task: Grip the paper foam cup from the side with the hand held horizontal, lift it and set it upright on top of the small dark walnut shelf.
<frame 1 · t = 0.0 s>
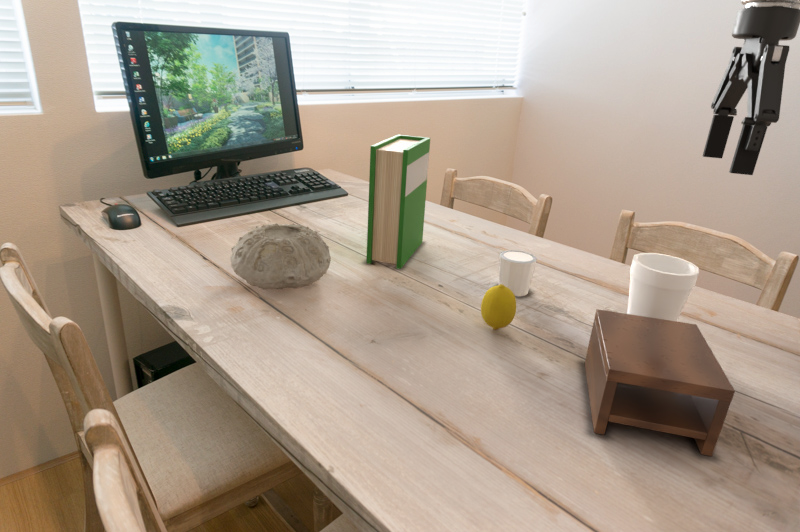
hand: (725, 165, 79), 28 cm above the table, tool pointing down, fingers open, 13 cm apart
lemon: (495, 330, 86), on the table
decorative shell: (282, 281, 99), on the table
shelf: (640, 404, 69), on the table
hardback book: (395, 253, 116), on the table
foam cup: (645, 338, 87), on the table
white jar candle: (513, 291, 101), on the table
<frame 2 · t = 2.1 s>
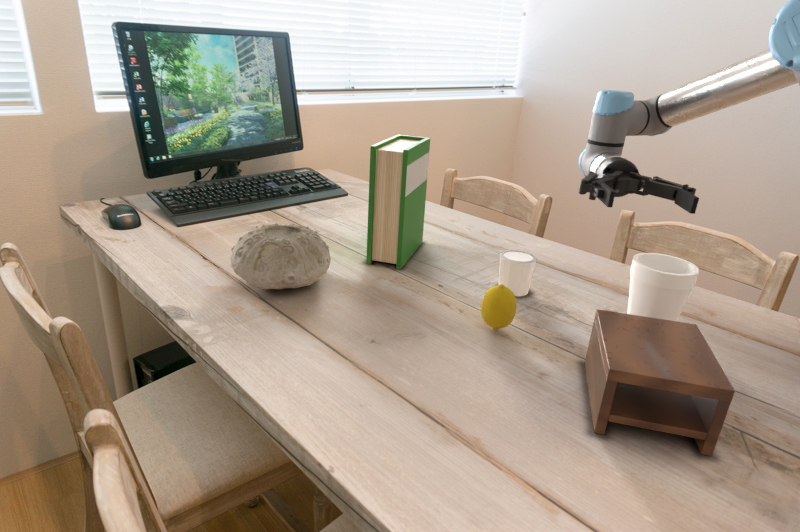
hand: (653, 202, 88), 20 cm above the table, tool horizontal, fingers open, 13 cm apart
nothing on the table moved.
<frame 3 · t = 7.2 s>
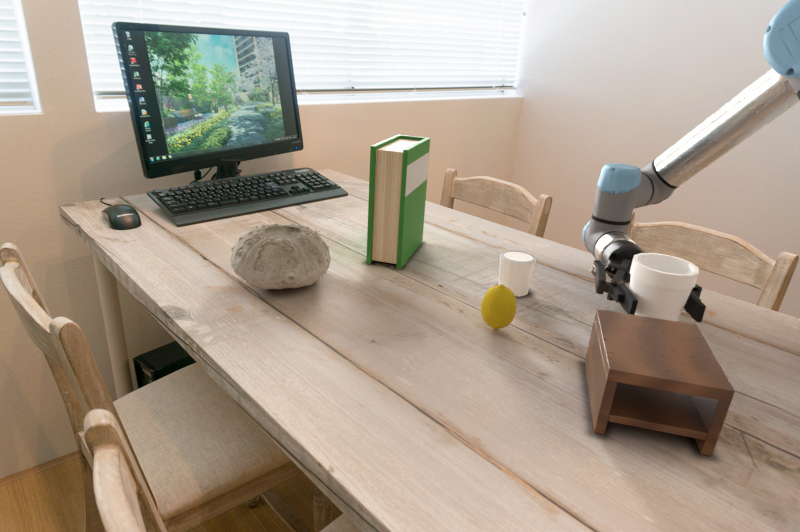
hand: (667, 311, 80), 7 cm above the table, tool horizontal, fingers closed on foam cup, 9 cm apart
foam cup: (645, 338, 87), on the table, touching gripper
everything else where it was.
when the fingers open (16 cm above the table, at t = 14.9 s): foam cup stays where it is, resting on shelf.
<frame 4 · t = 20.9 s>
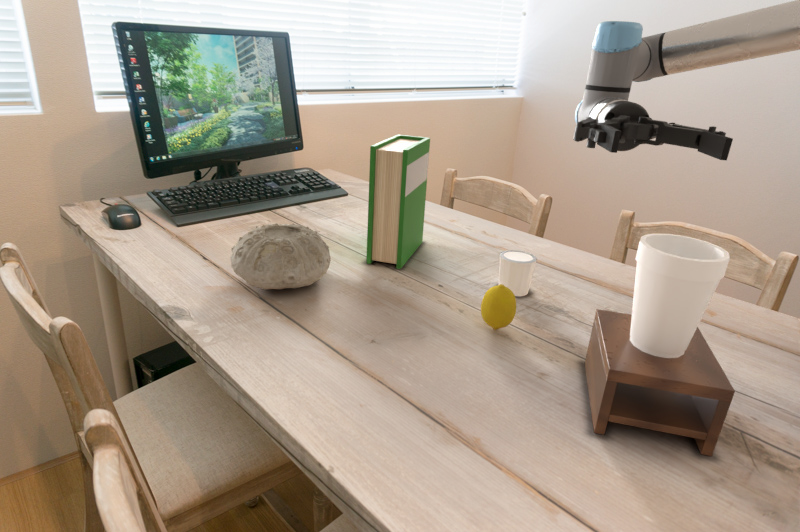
hand: (671, 145, 66), 32 cm above the table, tool horizontal, fingers open, 13 cm apart
foam cup: (656, 345, 66), point 9 cm above the table, touching shelf
everything else where it was.
at the end: foam cup inside the target area on the shelf (0.0 cm from its centre), point 8.8 cm above the shelf's base; foam cup tilted 0°; the gripper is holding nothing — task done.
